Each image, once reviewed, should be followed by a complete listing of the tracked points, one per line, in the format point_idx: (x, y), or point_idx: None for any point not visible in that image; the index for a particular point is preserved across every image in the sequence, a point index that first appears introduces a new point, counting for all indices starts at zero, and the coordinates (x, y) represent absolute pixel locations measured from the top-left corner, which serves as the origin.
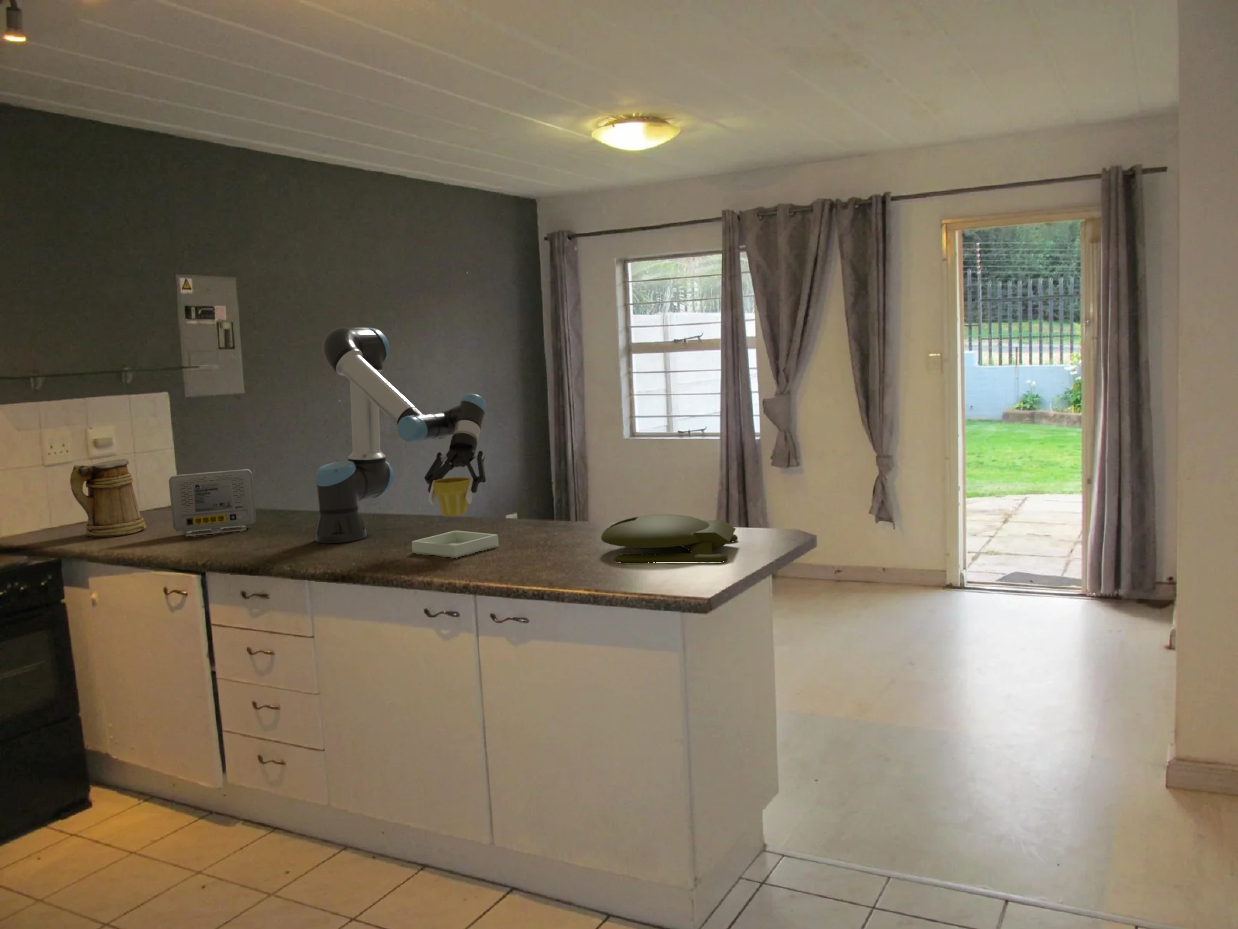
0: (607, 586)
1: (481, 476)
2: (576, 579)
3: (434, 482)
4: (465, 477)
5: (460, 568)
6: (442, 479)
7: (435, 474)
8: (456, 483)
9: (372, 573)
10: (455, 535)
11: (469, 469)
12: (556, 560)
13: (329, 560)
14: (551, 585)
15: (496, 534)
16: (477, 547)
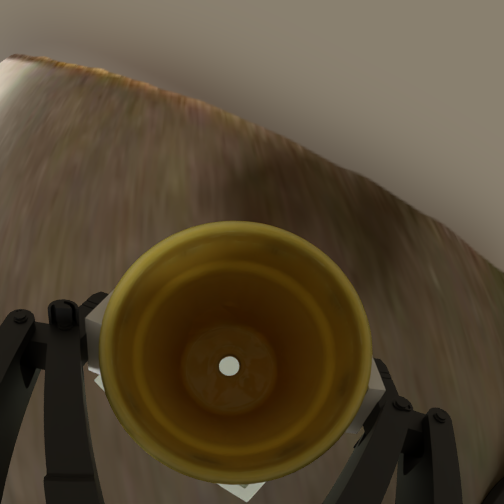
0: (40, 74)
1: (23, 310)
2: (50, 94)
3: (351, 285)
4: (141, 443)
5: (196, 170)
6: (328, 435)
7: (394, 433)
8: (193, 228)
9: (364, 183)
10: (244, 484)
11: (74, 400)
12: (24, 192)
13: (482, 319)
14: (85, 76)
15: (98, 384)
16: None
